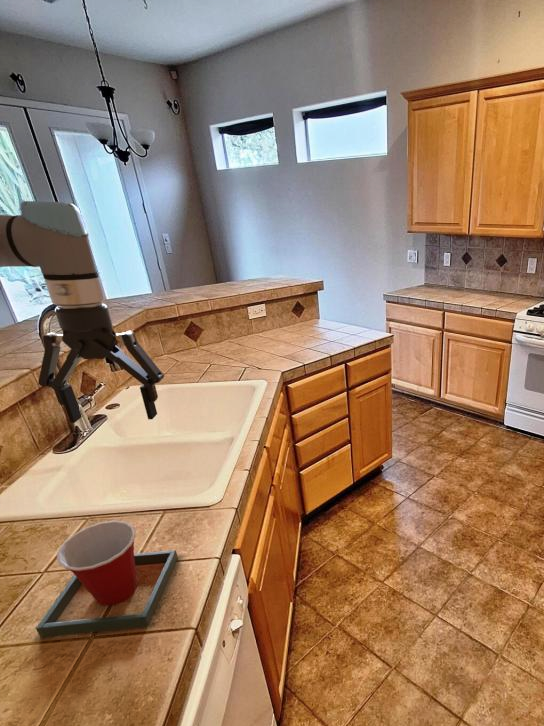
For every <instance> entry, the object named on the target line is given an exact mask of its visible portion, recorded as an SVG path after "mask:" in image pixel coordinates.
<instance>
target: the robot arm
mask: <svg viewBox="0 0 544 726" xmlns="http://www.w3.org/2000/svg"><path fill="white" fill-rule="evenodd" d="M19 207H20V211H21V212H20V214H19V215H18V214H17V215H9V214H7V215H6V214H0V268H7V267H10V268H11V267H32V268H40V271H41V275H42V276H43V280H44V282H45V285H46V288H47V292H48V294H49V297H50V300H51V303H52V304H53V305H55V306H56V307H55V308H54V313H55V317H56V319H57V323H58V325H59V328H60V329H61V331H62V334H60V333H57V332H56V331H52V332H49V333H46V334H44V335H43V336H42V339H43V344H44V352H43V356H42V361H41V367H40V372H39V376H38V385H39V386H40V387H48V388H51V389H53V392H54V394H55V397H56V399H57V402H58V404H59V405H60V406H64V409H65V412H66V415H67V417H68V420H69V423H70V424H75V423H76V422H78V421H79V420H80V419H82V417H83V415H82V413H81V410H80V407H79V403H78V400H77V399H76V395H75V392H74V389H73V387H72V384H68V380H69V379H70V377H71V376H72V374H73V372H74V370H75V369H76V367H77V366H78V364H79V363H80V361H81V359H84V360H92V359H95V360H105V359H106V358H107V359H108V360H109V361H111V362H113V363H115V364H117V365H118V366H119V367H120V368H121V369H122V370H124V371H125V372H126V373H128V374H129V375H130V376H132V378H134V379H135V380H137V381H138V382H139V383H141V384H142V385H141V386H139V390H140V393H141V398H142V401H143V405H144V408H145V412H146V416H147V420H154V418H155V417H156V416H157V415H158V411H157V408H156V404H155V403H156V401H157V400H158V398H159V395H158V391H157V387H156V384H158V383H160V382H161V381H162V380H163V379H164V378H165V374H164V373H163V372H162V371H161V370H160V368H159V367H158V365H156V363H155V362H154V361H153V360H152V358H151V357H150V356H149V355H148V353H147V352H146V351H145V350H144V348H143V347H142V346H141V344H139V342H138V339H137V336H136V333H135V332H134V331H132V330H127V331H126V332H121V333H116V331H115V330H114V328H113V322H112V318H111V315H110V311H109V308H108V307H109V306H107V305H106V304H105V303H103V302H105V301H106V296H105V293H104V290H103V286H102V283H101V279H100V277H99V273H98V270H97V267H96V263H95V259H94V255H93V252H92V251H93V250H92V247H91V244H90V239H89V233H88V231H87V228H86V226H85V223H84V220H83V217H82V214H81V211H80V209H79V208H78V207H77V205H75V204H74V203H71V202H63V201H40V200H30V201H29V200H24V201H21V202H20V204H19ZM118 342H120V345H122V346H124V347H125V348H126V350H127V351H128V352H129V354H130V355H131V356H132V357H133V358H134V360H135V361H136V362H137V363H136V362H135V361H134V360H133V359H132V358H130V357H129V356H128V355H127V354H126V353H125V352H124V350H123V349H121V348H120V347H119V346H117V344H118ZM63 344H65V345H66V346H67V347H68V348H69V349H70V351H69V352H68V354H67V355H66V357H65V358H66V359H65V361H64V362H63V364H62V366H61V367H60V369H59V370H58V371H57V368H58V367H57V366H58V362H59V356H60V352H61V346H63ZM56 372H57V374H56Z"/></svg>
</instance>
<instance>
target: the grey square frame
mask: <svg viewBox="0 0 544 726" xmlns="http://www.w3.org/2000/svg"><path fill="white" fill-rule="evenodd" d="M134 559H135V566H139V565H152V564H163V563H165V564H164V566H163V568H162V570H161V572H160V574H159V576H158V579H157V581H156V583H155V585H154V587H153V589H152V591H151V594H150V596H149V598H148V599H147V602H146V604H145V607H144V608H143V611H142V613H135V614H127V615H126V614H124V615H117V616H105V617H98V618H96V617H95V618H87V619H77V620H76V619H75V620H69V621H59V622H58V620H59V619H60V617H61V616H62V615H63V613H64V612H65V610H66V609H67V607H68V606H69V604H70V602H71V601H72V600H73V598H74V597H75V595H76V594H77V592H78V591H79V589H80V588H81V586H82V585H83V584H82V583H81V582H80V580H79V579H78V578H77V577H76V575H75V574H74V573H73V576H72V577H71V579H70V580H69V581H68V582H67V584H66V585H65V587H64V589H63V590H62V591H61V592H60V594H59V595H58V597H57V598H56V599H55V601H54V602H53V604H52V605H51V607H50V608H49V609H48V610H47V612H46V613H45V615H44V616H43V618H42V619H41V620H40V622H39V624H38V625H36V628H35V630H36V631H37V634H38V635H39V637H40V638H50V637H51V638H52V637H60V636H68V635H77V634H78V635H79V634H88V633H98V632H106V631H115V630H125V629H126V630H127V629H134V628H143V627H150V624H151V621H152V619H153V617H154V615H155V613H156V610H157V608H158V606H159V603H160V601H161V600H162V599H161V598H162V596H163V594H164V593H165V590H166V588H167V585H168V583H169V581H170V578H171V576H172V574H173V572H174V569H175V567H176V565H177V563H178V560H179V556H178V553H177V550H176V549H175V550H174V549H173V550H165V551H164V550H162V551H151V552H149V551H148V552H139V553H138V552H137V553H134Z"/></svg>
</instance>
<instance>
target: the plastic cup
mask: <svg viewBox="0 0 544 726" xmlns="http://www.w3.org/2000/svg"><path fill="white" fill-rule="evenodd" d="M135 539H136V531H135V527H134V526H133V525H132V524H130V523H129V522H127V521H122V520H107V521H101V522H98V523H95V524H92V525H89V526H86V527H84V528H82V529H81V530H79V531H77V532H75V533H73V534H72V535H71V536H69V538H67V539H66V540H65V541H64V542H63V543H62V544H61V545H60V547H59V549H58V551H57V552H56V562H57V563H58V564H59V565H60V566H61V567H63V568H64V569H65V570H69V571H70V572H71V573H73V575H74V574H75V575H76V577H77V578H78V579H79V580H80V582H81V583H82V584H81V585H82V586H83V587H84V588H85V589H86V591H87V592H88V593H90V594H91V596H92V597H93V599H94V600H95V601H96V602H97V603H98V604H99V605H101V606H105V607H110V606H116V605H118V604H121V603H124V602H125V601H126V600H128V599H129V598H131V597H132V596H133V595H134V593H135V592H136V589H137V587H138V586H137V576H136V575H137V571H136V569H137V568H136V565H135V559H134V554H135V551H134V550H135V546H134V545H135V542H134V541H135Z"/></svg>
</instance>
